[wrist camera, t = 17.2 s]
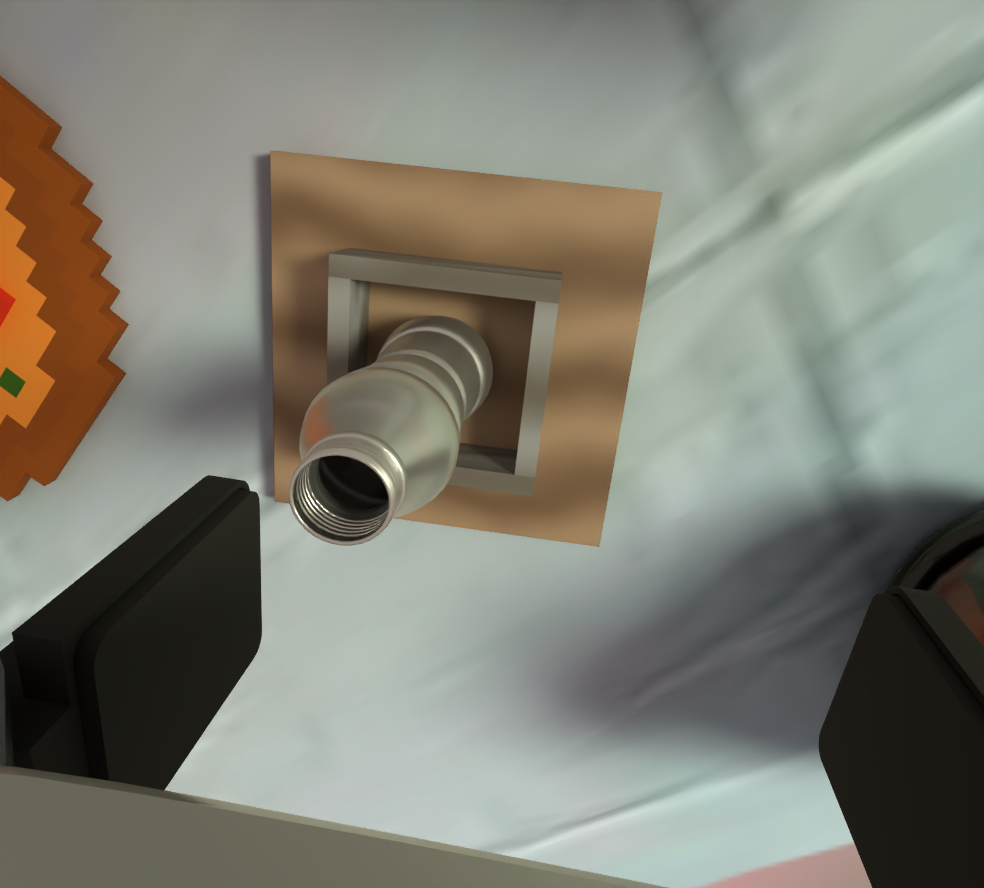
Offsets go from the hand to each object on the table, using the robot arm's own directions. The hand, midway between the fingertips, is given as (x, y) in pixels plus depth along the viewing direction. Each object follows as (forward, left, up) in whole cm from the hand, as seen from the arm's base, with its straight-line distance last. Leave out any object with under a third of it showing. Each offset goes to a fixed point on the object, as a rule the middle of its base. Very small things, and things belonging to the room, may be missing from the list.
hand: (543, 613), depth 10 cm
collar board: (+5, -6, -33) cm, 34 cm away
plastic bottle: (+4, -7, -32) cm, 33 cm away
